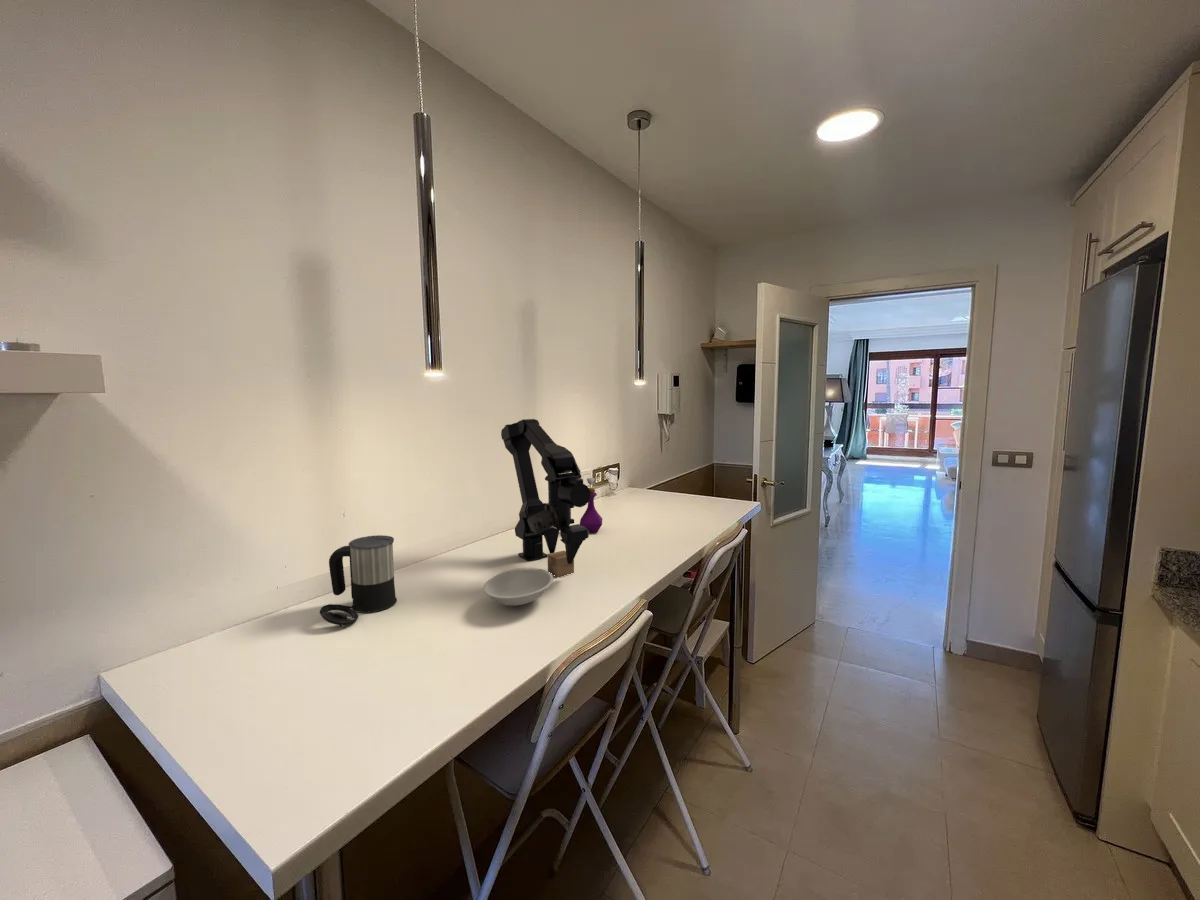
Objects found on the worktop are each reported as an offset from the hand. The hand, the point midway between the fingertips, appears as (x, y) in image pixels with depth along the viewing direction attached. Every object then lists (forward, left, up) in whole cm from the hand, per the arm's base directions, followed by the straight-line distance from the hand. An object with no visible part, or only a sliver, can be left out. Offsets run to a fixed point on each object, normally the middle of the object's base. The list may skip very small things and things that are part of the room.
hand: (560, 558), depth 131 cm
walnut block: (0, 0, -4) cm, 4 cm away
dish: (+11, -17, -4) cm, 21 cm away
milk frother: (-5, -47, -4) cm, 48 cm away
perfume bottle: (-28, +28, -4) cm, 40 cm away
